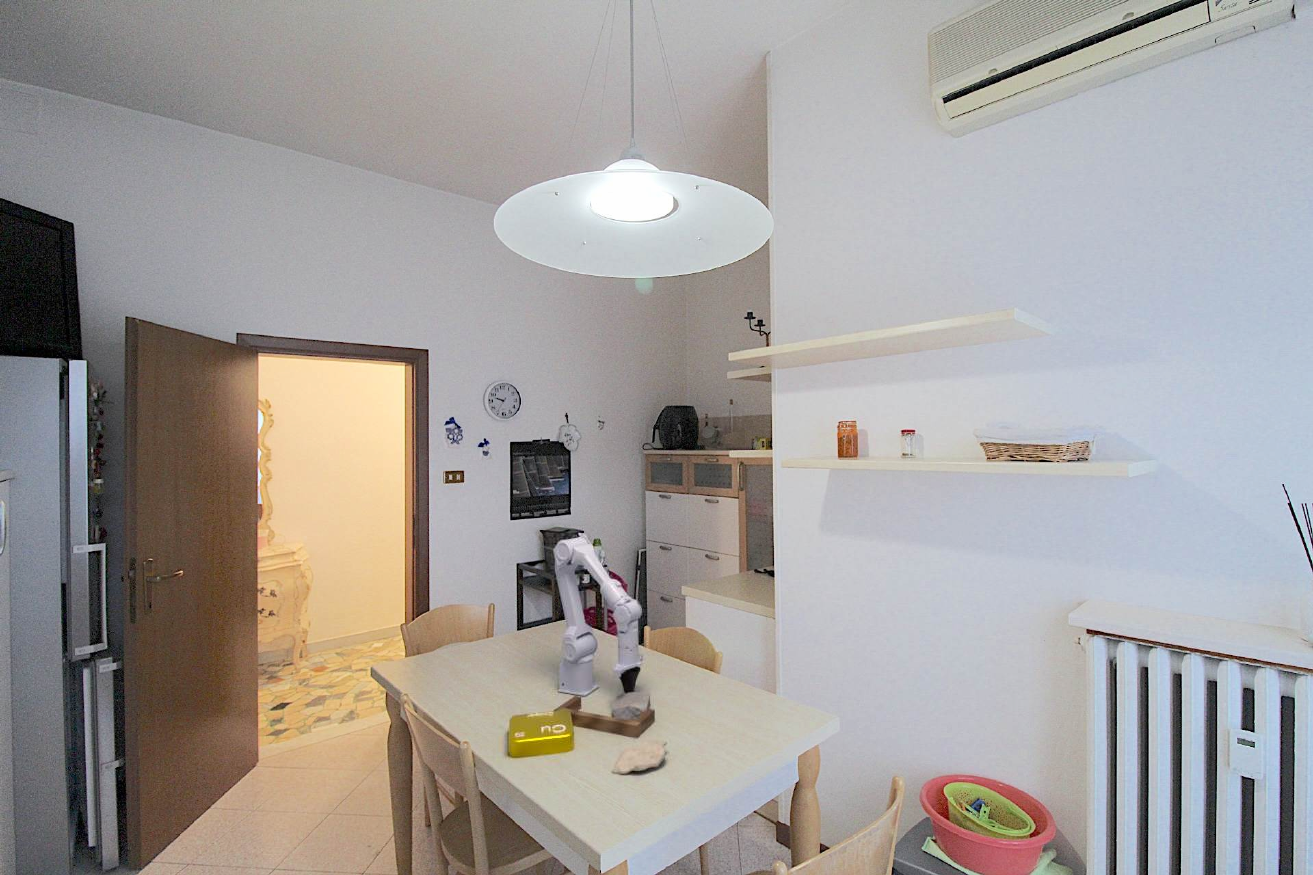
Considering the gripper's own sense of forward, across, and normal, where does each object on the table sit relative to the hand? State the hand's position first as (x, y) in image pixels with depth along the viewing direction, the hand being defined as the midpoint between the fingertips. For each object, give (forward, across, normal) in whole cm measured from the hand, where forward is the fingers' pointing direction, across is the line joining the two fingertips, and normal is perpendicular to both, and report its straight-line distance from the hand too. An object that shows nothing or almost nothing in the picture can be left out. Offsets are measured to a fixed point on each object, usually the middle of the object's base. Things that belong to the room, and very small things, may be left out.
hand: (629, 694), depth 172 cm
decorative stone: (+2, -29, -18) cm, 34 cm away
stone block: (+2, -6, -4) cm, 7 cm away
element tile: (+3, -29, +9) cm, 30 cm away
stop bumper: (+2, -14, 0) cm, 14 cm away
